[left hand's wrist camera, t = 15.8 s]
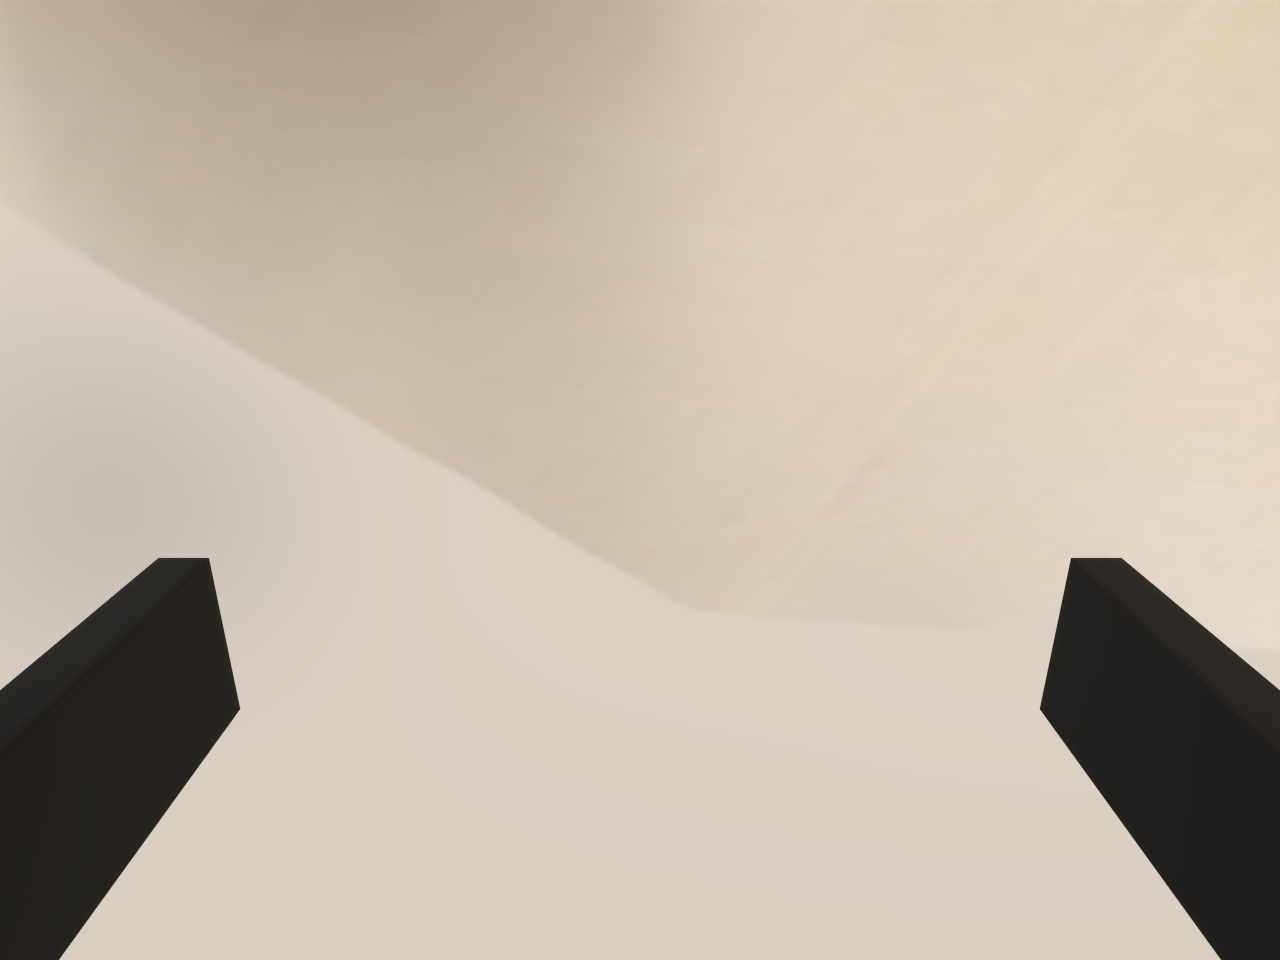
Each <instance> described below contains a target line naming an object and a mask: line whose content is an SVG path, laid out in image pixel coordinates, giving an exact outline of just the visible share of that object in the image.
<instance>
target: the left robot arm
mask: <svg viewBox="0 0 1280 960" xmlns="http://www.w3.org/2000/svg"><path fill="white" fill-rule="evenodd" d="M239 710H240V706H239V701H238V696H237V691H236V687H235V682H234V677H233V672H232V667H231V662H230V658H229V653H228V648H227V643H226V638H225V634H224V629H223V624H222V619H221V614H220V609H219V605H218V600H217V595H216V590H215V585H214V580H213V576H212V571H211V566H210V561H209V558H158V559H157V560H156V561H154V562H153V563H152V564H151V565H150V566H148V567H147V568H146V569H145V570H144V571H143V572H141V573H140V574H139V575H138V576H136V577H135V578H134V579H133V580H132V581H130V582H129V583H128V584H127V585H126V586H124V587H123V588H122V589H121V590H120V591H118V592H117V593H116V594H115V595H114V596H113V597H111V598H110V599H109V600H108V601H107V602H105V603H104V604H103V605H102V606H101V607H99V608H98V609H97V610H96V611H95V612H93V613H92V614H91V615H90V616H89V617H87V618H86V619H85V620H84V621H83V622H81V623H80V624H79V625H78V626H77V627H75V628H74V629H73V630H72V631H71V632H69V633H68V634H67V635H66V636H65V637H63V638H62V639H61V640H60V641H59V642H58V643H56V644H55V645H54V646H53V647H51V648H50V649H49V650H48V651H47V652H46V653H44V654H43V655H42V656H41V657H39V658H38V659H37V660H36V661H35V662H34V663H32V664H31V665H30V666H29V667H28V668H26V669H25V670H24V671H23V672H22V673H20V674H19V675H18V676H17V677H16V678H14V679H13V680H12V681H11V682H10V683H8V684H7V685H6V686H5V687H4V688H2V689H1V690H0V960H59V959H60V958H61V956H62V955H63V953H64V952H65V951H66V949H67V948H68V946H69V945H70V944H71V942H72V941H73V940H74V938H75V937H76V935H77V934H78V933H79V931H80V930H81V928H82V927H83V926H84V924H85V923H86V922H87V920H88V919H89V917H90V916H91V915H92V913H93V912H94V910H95V909H96V908H97V906H98V905H99V904H100V902H101V901H102V899H103V898H104V897H105V895H106V894H107V892H108V891H109V890H110V888H111V887H112V886H113V884H114V883H115V881H116V880H117V879H118V877H119V876H120V875H121V873H122V872H123V870H124V869H125V868H126V866H127V865H128V863H129V862H130V861H131V859H132V858H133V857H134V855H135V854H136V852H137V851H138V850H139V848H140V847H141V845H142V844H143V843H144V841H145V840H146V839H147V837H148V836H149V834H150V833H151V832H152V830H153V829H154V827H155V826H156V825H157V823H158V822H159V820H160V819H161V818H162V816H163V815H164V814H165V812H166V811H167V809H168V808H169V807H170V805H171V804H172V803H173V801H174V800H175V798H176V797H177V796H178V794H179V793H180V791H181V790H182V789H183V787H184V786H185V785H186V783H187V782H188V780H189V779H190V778H191V776H192V775H193V774H194V772H195V771H196V769H197V768H198V767H199V765H200V764H201V762H202V761H203V760H204V758H205V757H206V756H207V754H208V753H209V751H210V750H211V749H212V747H213V746H214V744H215V743H216V742H217V740H218V739H219V738H220V736H221V735H222V733H223V732H224V731H225V729H226V728H227V727H228V725H229V724H230V722H231V721H232V720H233V718H234V717H235V715H236V714H237V713H238V711H239ZM1040 710H1041V711H1042V713H1043V714H1044V715H1045V717H1046V718H1047V720H1048V721H1049V722H1050V724H1051V725H1052V727H1053V728H1054V729H1055V731H1056V732H1057V733H1058V735H1059V736H1060V738H1061V739H1062V740H1063V742H1064V743H1065V744H1066V746H1067V747H1068V749H1069V750H1070V751H1071V753H1072V754H1073V756H1074V757H1075V758H1076V760H1077V761H1078V762H1079V764H1080V765H1081V767H1082V768H1083V769H1084V771H1085V772H1086V774H1087V775H1088V776H1089V778H1090V779H1091V780H1092V782H1093V783H1094V785H1095V786H1096V787H1097V789H1098V790H1099V792H1100V793H1101V794H1102V796H1103V797H1104V798H1105V800H1106V801H1107V803H1108V804H1109V805H1110V807H1111V808H1112V810H1113V811H1114V812H1115V814H1116V815H1117V816H1118V818H1119V819H1120V821H1121V822H1122V823H1123V825H1124V826H1125V827H1126V829H1127V830H1128V832H1129V833H1130V834H1131V836H1132V837H1133V839H1134V840H1135V841H1136V843H1137V844H1138V845H1139V847H1140V848H1141V850H1142V851H1143V852H1144V854H1145V855H1146V857H1147V858H1148V859H1149V861H1150V862H1151V863H1152V865H1153V866H1154V868H1155V869H1156V870H1157V872H1158V873H1159V875H1160V876H1161V877H1162V879H1163V880H1164V881H1165V883H1166V884H1167V886H1168V887H1169V888H1170V890H1171V891H1172V893H1173V894H1174V895H1175V897H1176V898H1177V899H1178V901H1179V902H1180V904H1181V905H1182V906H1183V908H1184V909H1185V911H1186V912H1187V913H1188V915H1189V916H1190V917H1191V919H1192V920H1193V922H1194V923H1195V924H1196V926H1197V927H1198V928H1199V930H1200V931H1201V933H1202V934H1203V935H1204V937H1205V938H1206V940H1207V941H1208V942H1209V944H1210V945H1211V946H1212V948H1213V949H1214V951H1215V952H1216V953H1217V955H1218V956H1219V958H1220V959H1221V960H1280V690H1279V689H1277V688H1276V687H1275V686H1274V685H1273V684H1272V683H1270V682H1269V681H1268V680H1267V679H1266V678H1264V677H1263V676H1262V675H1261V674H1260V673H1258V672H1257V671H1256V670H1255V669H1254V668H1252V667H1251V666H1250V665H1249V664H1248V663H1246V662H1245V661H1244V660H1243V659H1242V658H1241V657H1239V656H1238V655H1237V654H1236V653H1235V652H1233V651H1232V650H1231V649H1230V648H1229V647H1227V646H1226V645H1225V644H1224V643H1223V642H1221V641H1220V640H1219V639H1218V638H1217V637H1215V636H1214V635H1213V634H1212V633H1211V632H1209V631H1208V630H1207V629H1206V628H1205V627H1203V626H1202V625H1201V624H1200V623H1199V622H1197V621H1196V620H1195V619H1194V618H1193V617H1191V616H1190V615H1189V614H1188V613H1187V612H1185V611H1184V610H1183V609H1182V608H1181V607H1179V606H1178V605H1177V604H1176V603H1175V602H1173V601H1172V600H1171V599H1170V598H1169V597H1167V596H1166V595H1165V594H1164V593H1163V592H1162V591H1160V590H1159V589H1158V588H1157V587H1156V586H1154V585H1153V584H1152V583H1151V582H1150V581H1148V580H1147V579H1146V578H1145V577H1144V576H1142V575H1141V574H1140V573H1139V572H1138V571H1136V570H1135V569H1134V568H1133V567H1132V566H1130V565H1129V564H1128V563H1127V562H1126V561H1124V560H1123V559H1122V558H1071V561H1070V566H1069V571H1068V576H1067V580H1066V585H1065V590H1064V595H1063V600H1062V605H1061V609H1060V614H1059V619H1058V624H1057V629H1056V633H1055V638H1054V643H1053V648H1052V653H1051V658H1050V662H1049V667H1048V672H1047V677H1046V682H1045V687H1044V691H1043V696H1042V701H1041V706H1040Z"/></svg>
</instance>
